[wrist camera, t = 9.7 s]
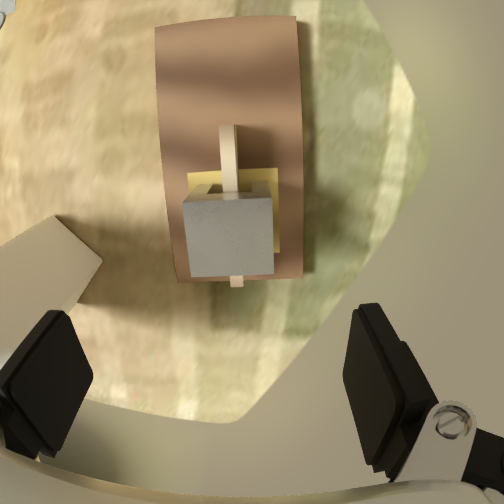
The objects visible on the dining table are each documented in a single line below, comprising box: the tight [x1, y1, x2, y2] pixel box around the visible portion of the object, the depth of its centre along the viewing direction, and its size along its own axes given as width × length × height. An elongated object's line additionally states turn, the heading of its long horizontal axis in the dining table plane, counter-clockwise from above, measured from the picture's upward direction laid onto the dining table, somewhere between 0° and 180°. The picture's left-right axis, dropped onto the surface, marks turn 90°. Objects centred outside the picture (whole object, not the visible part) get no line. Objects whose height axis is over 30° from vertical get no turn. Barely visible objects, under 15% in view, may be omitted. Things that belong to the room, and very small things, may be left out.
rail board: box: [155, 16, 304, 287], centre depth 23 cm, size 22×11×4 cm, turn 3°
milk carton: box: [0, 216, 103, 370], centre depth 20 cm, size 7×7×19 cm
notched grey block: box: [182, 181, 274, 277], centre depth 22 cm, size 5×5×6 cm
